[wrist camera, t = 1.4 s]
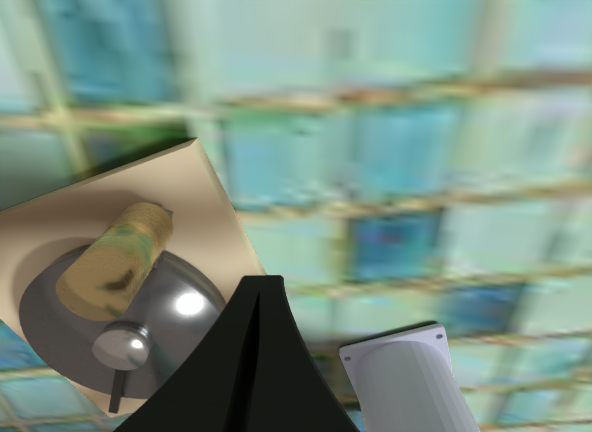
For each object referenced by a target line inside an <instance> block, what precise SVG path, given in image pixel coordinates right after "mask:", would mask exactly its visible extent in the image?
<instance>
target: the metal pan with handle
mask: <svg viewBox="0 0 592 432" xmlns="http://www.w3.org/2000/svg"><path fill="white" fill-rule="evenodd" d="M173 212H174V211H171V210H167V209H164V208H161V207H159V206H157V205H155V204H152V203H147V202H139V203H135V204H133V205H131V206H129V207H128V208H127V209H126V210H125V211H124V212H123V213H122V214H121V215H120V216H119V217H118V218H117V219H116V220H115V221H114V222H113V223H112V224H111V225H110V226H109V227H108V228H107V229H106V230H105V231H104V232H103V233H102V234H101V235H100V236H99V237H98V239H97V240H96V241H95V242H94V243H93V244H89V245H85V246H81V247H78V248H75V249H73V250H70V251H68V252H67V253H65V254H63V255H61V256H60V257H58V258H57V259H56V260H54V261H53V262H52V263H51V264H50V265H49V266H48V267H47V268H45V269H44V270H43V271H42V272H41V273H40V274H39V275H38V276H37V277H36V278H35V279H34V280H33V281H32V282H31V283H30V284H29V285H28V286H27V288H26V290H25V291H24V293H23V295H22V298H21V301H20V305H19V320H20V325H21V328H22V331H23V334H24V336H25V338H26V340H27V341H28V343H29V344H30V346H31V347H32V349H33V350H34V351H35V352H36V354H37V355H38V356H39V357H40V358H41V359H42V360H43V361H44V362H45V363H47V364H48V365H49V366H50V367H51V368H53V369H54V370H55V371H57V372H58V373H60V374H61V375H63V376H65V377H66V378H68V379H70V380H71V381H74V382H76V383H78V384H80V385H82V386H84V387H87V388H89V389H92V390H95V391H98V392H101V393H105V394H109V395H111V399H110V405H109V411H108V412H110V413H115V414H117V413H118V411H119V408H120V403H121V398H122V397H124V398H132V399H149V398H150V397H151V396H152V395H153V394H154V393H155V392H156V391H157V390H158V389H159V388H160V387H161V386H162V385H163V384H164V383H165V382H166V381H167V380H168V378H169V377H170V376H171V375H172V374H173V373H174V372H175V371H176V370H177V369H178V368H179V367H180V365H181V364H182V363H183V362H184V361H185V360H186V359H187V357H188V356H189V355H190V354H191V353H192V351H193V350H194V349H195V348H196V347H197V345H198V344H199V343H200V341H201V340H202V339H203V337H204V336H205V335H206V333H207V332H208V331H209V329H210V328H211V327H212V325H213V324H214V323H215V321H216V320H217V318H218V317H219V315H220V314H221V312H222V311H223V309H224V308H225V306H226V305H227V303H226V301H225V299H224V297H223V296H222V294H221V293H220V291H219V290H218V288H217V287H216V286H215V285H214V284H213V282H212V281H211V280H210V279H209V278H207V277H206V276H205V275H204V274H203V273H202V272H201V271H199V270H198V269H196V268H195V267H194V266H192V265H191V264H189V263H187V262H186V261H184V260H182V259H180V258H179V257H176V256H174V255H172V254H170V253H167V252H165V248H166V244H167V243H168V241H169V240H170V238H171V236H172V234H173V231H174V225H173V221H172V216H173Z"/></svg>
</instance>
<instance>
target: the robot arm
mask: <svg viewBox="0 0 592 432" xmlns="http://www.w3.org/2000/svg"><path fill="white" fill-rule="evenodd" d="M339 356H340V358H341V361H342V363H343V365H344V368H345V370H346V372H347V375H348V377H349V379H350V382H351V384H352V386H353V389H354V391H355V393H356V396H357V398H358V400H359V403H360V407H361V412H362V418H363V423H364V428H365V432H481V431H480V429H479V427H478V425H477V423H476V421H475V419H474V417H473V415H472V413H471V411H470V409H469V407H468V405H467V403H466V401H465V399H464V397H463V395H462V393H461V391H460V389H459V387H458V385H457V382H456V380H455V378H454V376H453V371H452V365H451V360H450V354H449V348H448V343H447V337H446V332H445V329H444V327H443V325H442V324H433V325H429V326H425V327H421V328H416V329H412V330H408V331H404V332H400V333H396V334H392V335H388V336H384V337H380V338H376V339H372V340H368V341H364V342H360V343H356V344H352V345H348V346H344V347H341V348H340V349H339ZM113 432H360V431H359V430H358V428H357V427H356V426H355V424H354V423H353V422H352V420H351V419H350V418H349V416H348V415H347V413H346V412H345V410H344V409H343V407H342V406H341V404H340V403H339V401H338V400H337V398H336V397H335V396H334V394H333V393H332V391H331V390H330V388H329V386H328V385H327V383H326V381H325V380H324V378H323V377H322V375H321V373H320V371H319V370H318V368H317V366H316V364H315V363H314V361H313V359H312V357H311V355H310V353H309V351H308V349H307V347H306V345H305V343H304V341H303V339H302V337H301V335H300V332H299V330H298V328H297V325H296V323H295V320H294V317H293V315H292V312H291V309H290V306H289V303H288V300H287V296H286V292H285V288H284V278H283V277H282V276H281V275H244V276H243V277H242V278H241V280H240V282H239V284H238V286H237V288H236V289H235V291H234V293H233V295H232V296H231V298H230V300H229V301H228V303H227V305H226V306H225V308H224V309H223V311H222V312H221V314H220V315H219V317H218V318H217V320H216V321H215V323H214V324H213V325H212V327H211V328H210V329H209V331H208V332H207V333H206V335H205V336H204V337H203V339H202V340H201V341H200V343H199V344H198V345H197V347H196V348H195V349H194V350H193V351H192V353H191V354H190V355H189V356H188V357H187V359H186V360H185V361H184V362H183V363H182V364H181V365H180V367H179V368H178V369H177V370H176V371H175V372H174V373H173V374H172V375H171V376H170V377H169V378H168V380H167V381H166V382H165V383H164V384H163V385H162V386H161V387H160V388H159V389H158V390H157V391H156V392H155V393H154V394H153V395H152V396H151V397H150V398H149V399H148V400H147V401H146V402H145V403H144V404H143V405H142V406H141V407H139V408H138V409H137V410H136V411H135V412H134V413H133V414H132V415H131V416H130V417H128V418H127V419H126V420H125V421H124V422H123V423H122V424H121V425H120V426H118V427H117V428H116V429H115V430H114V431H113Z"/></svg>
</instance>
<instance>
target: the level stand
mask: <svg viewBox="0 0 592 432" xmlns="http://www.w3.org/2000/svg"><path fill="white" fill-rule="evenodd" d="M139 202H147V203H152V204H155V205H157V206H159V207H161V208H164V209H167V210H171V211H174V212H173V216H172V221H173V225H174V231H173V234H172V236H171V238H170V240H169V241H168V243H167V244H166V248H165V252H167V253H170V254H172V255H174V256H176V257H179V258H180V259H182V260H184V261H186V262H187V263H189V264H191V265H192V266H194V267H195V268H196V269H198V270H199V271H201V272H202V273H203V274H204V275H205V276H206V277H207V278H209V279H210V280H211V281H212V282H213V284H214V285H215V286H216V287H217V288H218V290H219V291H220V293H221V294H222V296H223V297H224V299H225V301H226V303H228V301H229V300H230V298H231V296H232V295H233V293H234V291H235V289H236V288H237V286H238V284H239V282H240V280H241V278H242V277H243V276H244V275H266V273H265V271H264V269H263V267H262V265H261V263H260V261H259V259H258V257H257V255H256V253H255V251H254V249H253V247H252V245H251V243H250V241H249V239H248V237H247V235H246V233H245V231H244V229H243V227H242V225H241V223H240V221H239V219H238V217H237V215H236V213H235V211H234V209H233V207H232V205H231V203H230V201H229V199H228V197H227V195H226V193H225V191H224V189H223V187H222V185H221V183H220V181H219V179H218V177H217V175H216V173H215V171H214V169H213V167H212V165H211V163H210V161H209V159H208V157H207V155H206V153H205V151H204V149H203V147H202V145H201V143H200V141H199V139H198V138H196V139H193V140H190V141H188V142H185V143H182V144H180V145H177V146H174V147H172V148H169V149H166V150H164V151H161V152H158V153H155V154H153V155H150V156H147V157H145V158H142V159H139V160H137V161H134V162H131V163H129V164H126V165H123V166H120V167H118V168H115V169H112V170H110V171H107V172H104V173H102V174H99V175H96V176H94V177H91V178H88V179H85V180H83V181H80V182H77V183H75V184H72V185H69V186H67V187H64V188H61V189H59V190H56V191H53V192H50V193H48V194H45V195H42V196H40V197H37V198H34V199H32V200H29V201H26V202H24V203H21V204H18V205H15V206H13V207H10V208H7V209H5V210H2V211H0V319H1V320H2V321H3V322H5V323H6V324H7V325H8V326H9V327H10V328H11V329H12V330H13V331H15V332H16V333H17V334H18V335H19V336H20V337H21V338H22V339H23V340H24V341H26V342H27V343H28V341H27V340H26V338H25V336H24V334H23V331H22V328H21V325H20V320H19V305H20V301H21V298H22V295H23V293H24V291H25V290H26V288H27V286H28V285H29V284H30V283H31V282H32V281H33V280H34V279H35V278H36V277H37V276H38V275H39V274H40V273H41V272H42V271H43V270H44V269H45V268H47V267H48V266H49V265H50V264H51V263H52V262H53V261H54V260H56V259H57V258H58V257H60V256H61V255H63V254H65V253H67V252H68V251H70V250H73V249H75V248H78V247H81V246H85V245H89V244H93V243H94V242H95V241H96V240H97V239H98V237H99V236H100V235H101V234H102V233H103V232H104V231H105V230H106V229H107V228H108V227H109V226H110V225H111V224H112V223H113V222H114V221H115V220H116V219H117V218H118V217H119V216H120V215H121V214H122V213H123V212H124V211H125V210H126V209H127V208H128V207H129V206H131V205H133V204H135V203H139ZM28 344H29V343H28ZM29 345H30V344H29ZM64 377H65V376H64ZM65 378H66V377H65ZM66 379H68V378H66ZM68 380H69V381H70V382H71V383H72V384H73V385H74V386H75V387H76V388H77V389H79V390H80V391H81V392H82V393H83V394H84V395H85V396H86V397H87V398H89V399H90V400H91V401H92V402H93V403H94V404H95V405H96V406H97V407H98V408H100V409H101V410H102V411H103V412H104V413H105V414H106V415H107V416H108V417H110V418H112V417H116V416H120V415H125V414H129V413H133V412H135V411H136V410H137V409H138V408H139V407H141V406H142V405H143V404H144V403H145V402H146V401H147V400H148V399H132V398H124V397H122V398H121V403H120V408H119V411H118V413H117V414H115V413H110V412H108V411H109V405H110V399H111V395H109V394H105V393H101V392H98V391H95V390H92V389H89V388H87V387H84V386H82V385H80V384H78V383H76V382H74V381H71V380H70V379H68Z"/></svg>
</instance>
